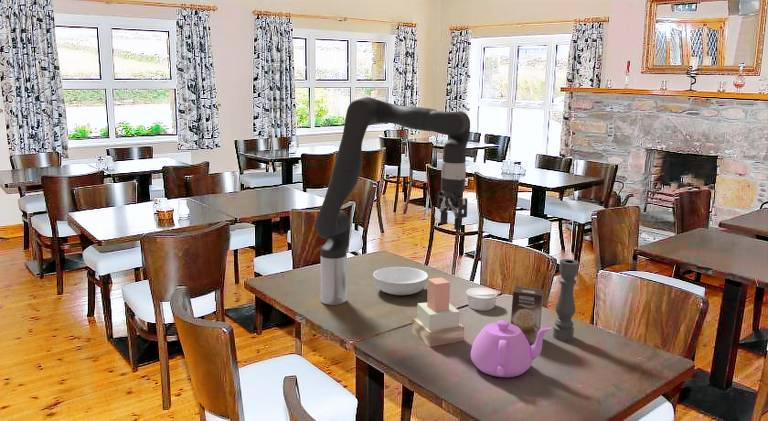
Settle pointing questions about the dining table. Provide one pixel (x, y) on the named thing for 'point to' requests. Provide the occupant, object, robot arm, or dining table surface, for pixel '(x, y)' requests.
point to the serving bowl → (400, 280)
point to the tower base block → (437, 334)
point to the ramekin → (481, 298)
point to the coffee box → (527, 311)
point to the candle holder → (566, 300)
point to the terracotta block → (438, 294)
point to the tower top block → (437, 317)
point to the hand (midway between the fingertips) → (450, 226)
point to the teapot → (505, 349)
